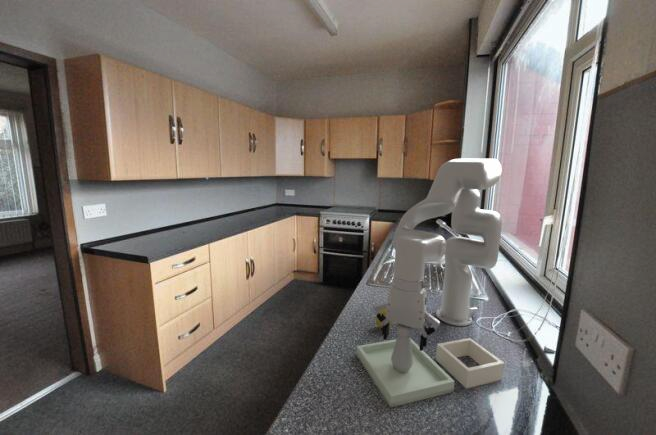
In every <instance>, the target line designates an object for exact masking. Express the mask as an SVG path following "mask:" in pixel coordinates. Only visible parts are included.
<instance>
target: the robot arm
mask: <svg viewBox="0 0 656 435" xmlns="http://www.w3.org/2000/svg"><path fill="white" fill-rule="evenodd" d="M501 176H502V164H501V163H500V161H499V160H498V159H497V158H454V159H450V160H448V161H446V162H444V163H442V164H441V165H440V166H439V169H438V171H437V172H436V175H435V177H434V180H433V182H432V185H431V187H430V190H428V194H427V196H426V198H424V199H423V200H420V201H419V202H418V203H416V204H415V205H413V206H412V207H411V208H410V209H408V210H407V211H406V212H405V213H404V214H403V215H402V216H401V218H400V221H399V222H398V224H397V226H396V229H395V231H394V234H393V238H392V246H393V249H394V250H395V252H394V254H395V255H394V256H395V257H394V268H393V270H394V271H393V282H392V283H391V284H390V287H389V290H388V295H387V300H386V302H384V303H379V304H376V305H375V306H374V307H373V309H374V310H373V311H374V313H375V315H377V318H378V319H379V321H380V322H381V325H382V330H381V335H383V338H382V339H383V340H384V341H387V339H388V337H389V336H390V326H391V325H390V323H389V322H390V321H391V322H392V323H395V324H401V325H405V326H409V327H412V328H413V329H418V331H419V332H420V334H421V335H420V341H419V347H420V349H419V350H420V351H422V350H423V351H424V348H427V345H428V344H427V343H428V336H430V335H433V334H434V333H435V331H436V330H437V329H438V328H439V327H440V325H441V321H442V322H444V323H445V324H449V325H451V326H458V327H467V326H469V325H471V324H472V322H473V318H472V316H471V314H473V313H477V312H479V309H478V307H477V306H473V307H472V306H471V307H470V298H471V292H472V291H471V290H472V282H473V275H472V274H473V273H472V270H471V269H470V267H469V266H472V267H477V268H481V269H485V270H487V269H488V270H492V269H494V268H495V267H496V264H497V262H498V258H499V250H500V241H501V235H502V225H503V220H502V217H501V214H500V213H499V212H497V211H496V210H490V209H481V208H480V198H481V194H480V191H482V190H483V191H484V190H486V189H489V188H491V187H493V186H495V185H496V184H497V183H498V181H499V180H500V178H501ZM448 214H449V215H450V214H451V221H450V222H451V223H450V225H451V230H452V231H453V232H456V233H457V234H462V235H467V236H468V235H469V236H474V237H480V238H482V239H483V240H481V239H476V238H470V237H466V236H465V237H464V236H458V235H457V236H456V235H455V236H451V237H448V238H447V239H445V237H443V236H442V235H440V234H438V233H435V232H428V231H425V230H418V229H414V228H415V227H416V226H417V225H419V224H421V223H422V222H424V221H426V220H431V219H435V218H438V217H442V216H445V215H448ZM443 256H444V272H443V273H444V276H443V282H442V285H443V286H442V294H441V295H442V296H441V304H440V306H441V307H440V308H437V309H436V312H435V316H433V315H432V314H431V313H430V312H428V311H427V309H428V297H427V289H428V288H430V282H429V281H428V282H427V281H426V279H425V270H426V268H425V267H426V263H430V262H436V261H437V262H438V261H439V260H440V259H442V258H443ZM426 288H427V289H426ZM383 309H386V317H385V316H384V315H383V314H382V312H381V310H383ZM436 317H437V318H436ZM426 320H427V321H428V322H430V323H431V324H432V325H430V326H429V327H428V326H427V324H425V323H426ZM440 320H441V321H440ZM389 325H390V326H389Z"/></svg>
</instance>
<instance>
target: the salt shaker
mask: <svg viewBox="0 0 656 435" xmlns="http://www.w3.org/2000/svg"><path fill="white" fill-rule="evenodd" d="M396 324H397V325H396V327H395V329H396V330H395V332H396V333H397V336H396V339H397V340H396V344H395V347H394V350H393V353H392V357H391V361H392V364H393V367H394V369H395V370H396V371H398V372H399V373H407V372H408V371H409V369H410V368H411V367H412V364H413V358H412V348H411V339H412V338H411V337H412V335H413V331H414V328H412V327H409V326H405V325H401V324H398V323H396Z"/></svg>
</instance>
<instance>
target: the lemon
mask: <svg viewBox="0 0 656 435" xmlns="http://www.w3.org/2000/svg"><path fill="white" fill-rule="evenodd" d="M381 312H382V314H383V315H384V316H385V317H386V309H383V310H381ZM375 315H376V314H375ZM375 319H376V324H377V325H378V327H380V328H382V325H381V322H380V321H379V319H378V318H377V315H376V317H375ZM389 323H390V325H389V327H391V325H392V323H393V322H391V321H390V322H389Z"/></svg>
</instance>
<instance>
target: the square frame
mask: <svg viewBox="0 0 656 435" xmlns="http://www.w3.org/2000/svg"><path fill="white" fill-rule="evenodd" d="M466 356H467V357H468V356H469V357H470V358H471V359H472V360H473V361H474V362H476V363H477V364H478V365H476V366H471V367H468V366H467V365H466V364H465V363H463V362H462V361H461V360H460V359H459V358H461V357H466ZM435 360H436V362H438V363H439V364H440V365H441V366H442V367H443V368H444V369H445V370H446V371H447V372H448V373H449V374H450V375H452V377H454V379H455V380H456V381H457V382H459V383H460V384H461V385H462V386H463V387H464V388H465V389H471V388H474V387H479V386H481V385H486V384H487V385H488V384H491V383H494V382H498V381H501V380H503V375H504V368H505V362H504V361H503V360H501V359H500V358H498V357H497V356H496V355H494V354H493V353H492V352H490V351H489V350H487V349H486V348H484V347H483V346H482V345H480V344H479V343H478V342H476V341H475V340H473V339H472V338H471V337H466V338H462V339H456V340H451V341H445V342H441V343H440V342H439V343H437V344H436V353H435Z"/></svg>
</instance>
